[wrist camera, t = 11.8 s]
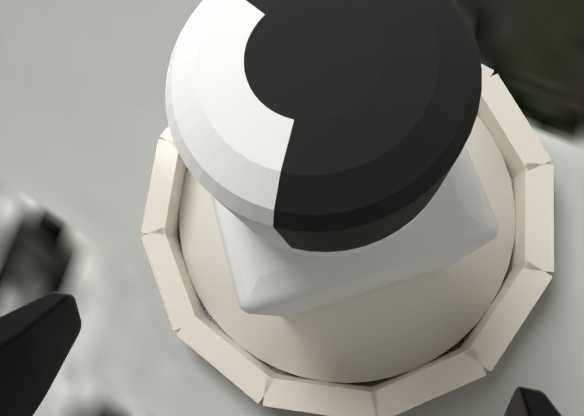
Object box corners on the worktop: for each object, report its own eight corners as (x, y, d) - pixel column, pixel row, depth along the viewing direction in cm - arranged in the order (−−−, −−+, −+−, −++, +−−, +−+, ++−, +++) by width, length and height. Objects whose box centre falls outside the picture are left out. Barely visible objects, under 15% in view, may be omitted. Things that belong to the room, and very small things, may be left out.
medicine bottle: (392, 109, 21) (437, -162, 9) (452, 267, 19) (606, 178, 7) (237, 160, 21) (90, -38, 9) (280, 319, 19) (164, 314, 8)
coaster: (615, 160, 19) (636, 147, 18) (392, 503, 17) (395, 519, 16) (300, -14, 23) (296, -36, 22) (90, 252, 21) (71, 247, 20)
